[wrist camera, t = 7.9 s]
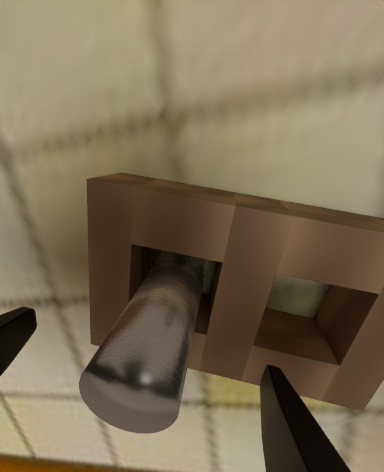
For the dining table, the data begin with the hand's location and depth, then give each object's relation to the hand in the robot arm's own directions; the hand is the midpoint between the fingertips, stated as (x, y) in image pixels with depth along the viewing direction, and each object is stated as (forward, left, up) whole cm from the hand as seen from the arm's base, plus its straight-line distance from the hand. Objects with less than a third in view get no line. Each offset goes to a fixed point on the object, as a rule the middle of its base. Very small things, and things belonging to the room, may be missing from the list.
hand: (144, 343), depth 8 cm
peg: (0, 0, -7) cm, 7 cm away
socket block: (-4, 0, -7) cm, 8 cm away
